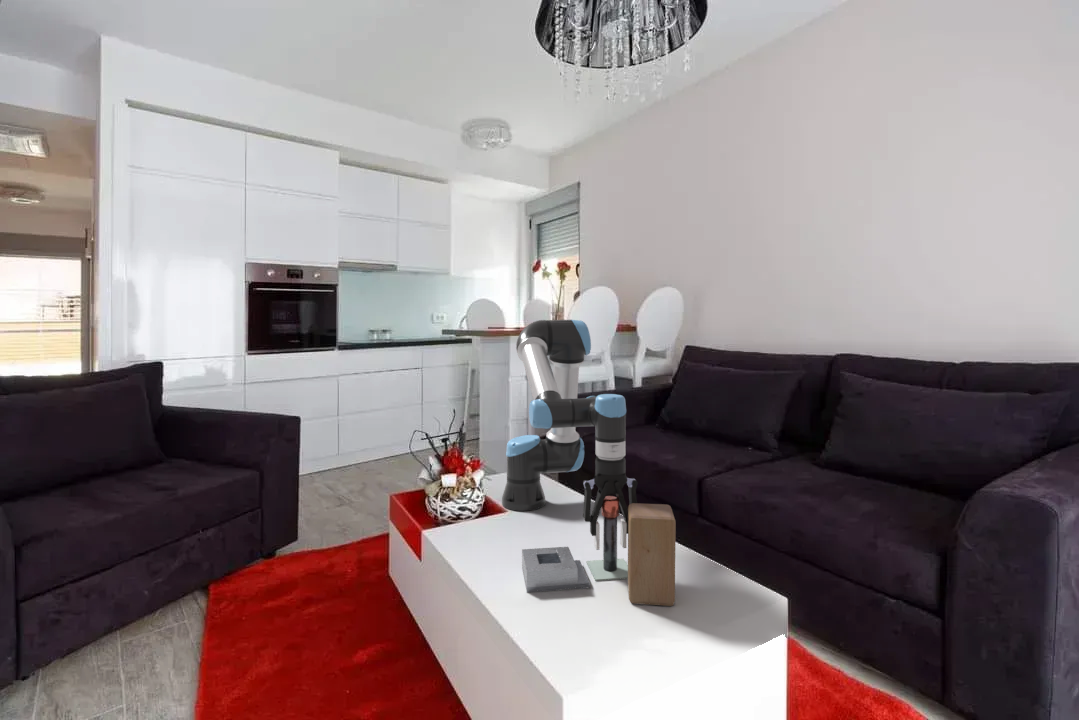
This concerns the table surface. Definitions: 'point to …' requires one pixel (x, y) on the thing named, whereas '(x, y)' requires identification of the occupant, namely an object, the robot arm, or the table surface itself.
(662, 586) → the wooden block
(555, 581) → the grey hollow block
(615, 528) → the red capped rod
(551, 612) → the table surface
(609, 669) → the table surface
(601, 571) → the mat
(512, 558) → the table surface
